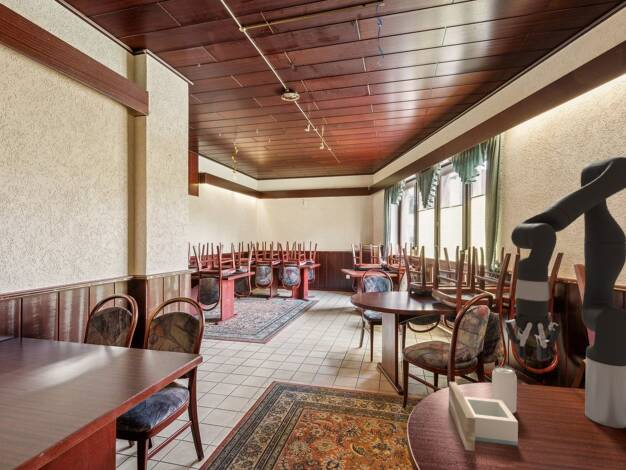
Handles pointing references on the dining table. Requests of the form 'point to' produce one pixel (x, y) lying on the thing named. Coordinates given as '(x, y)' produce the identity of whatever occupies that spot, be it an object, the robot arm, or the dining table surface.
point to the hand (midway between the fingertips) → (530, 359)
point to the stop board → (462, 416)
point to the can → (505, 386)
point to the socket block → (493, 421)
